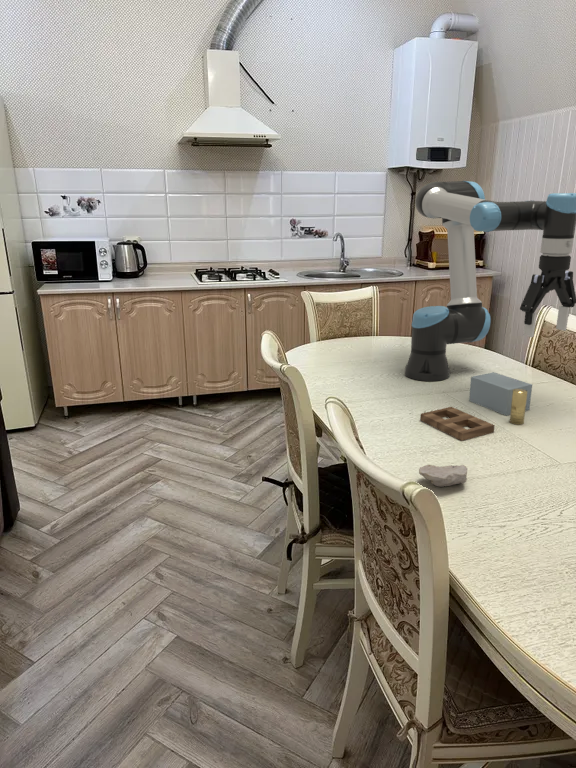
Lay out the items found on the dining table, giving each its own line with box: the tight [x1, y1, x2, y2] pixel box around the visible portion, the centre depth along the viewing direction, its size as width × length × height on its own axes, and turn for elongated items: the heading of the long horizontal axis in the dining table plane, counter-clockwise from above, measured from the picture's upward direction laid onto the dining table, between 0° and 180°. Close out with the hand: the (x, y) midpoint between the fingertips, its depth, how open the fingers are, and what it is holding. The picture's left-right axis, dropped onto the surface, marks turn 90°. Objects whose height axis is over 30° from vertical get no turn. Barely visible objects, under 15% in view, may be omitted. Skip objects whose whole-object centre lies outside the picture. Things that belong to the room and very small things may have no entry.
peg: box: [509, 389, 527, 426], centre depth 148 cm, size 4×4×9 cm
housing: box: [468, 371, 533, 416], centre depth 161 cm, size 14×9×8 cm, turn 27°
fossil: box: [418, 464, 468, 488], centre depth 118 cm, size 9×6×10 cm
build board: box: [419, 406, 495, 442], centre depth 148 cm, size 16×11×2 cm
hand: (545, 332), depth 153 cm, fingers open, 13 cm apart
